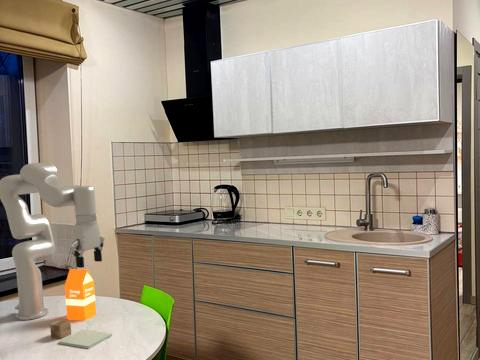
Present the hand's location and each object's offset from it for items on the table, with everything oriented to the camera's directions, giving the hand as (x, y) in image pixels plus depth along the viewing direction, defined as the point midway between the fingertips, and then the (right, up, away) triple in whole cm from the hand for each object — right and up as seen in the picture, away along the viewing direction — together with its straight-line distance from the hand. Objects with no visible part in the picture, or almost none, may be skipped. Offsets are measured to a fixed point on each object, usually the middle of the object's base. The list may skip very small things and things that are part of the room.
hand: (89, 264), depth 183 cm
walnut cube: (-10, -26, -2) cm, 28 cm away
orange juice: (-9, -25, +19) cm, 32 cm away
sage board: (+1, -26, -7) cm, 27 cm away
